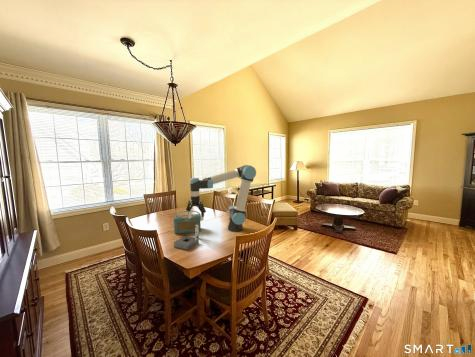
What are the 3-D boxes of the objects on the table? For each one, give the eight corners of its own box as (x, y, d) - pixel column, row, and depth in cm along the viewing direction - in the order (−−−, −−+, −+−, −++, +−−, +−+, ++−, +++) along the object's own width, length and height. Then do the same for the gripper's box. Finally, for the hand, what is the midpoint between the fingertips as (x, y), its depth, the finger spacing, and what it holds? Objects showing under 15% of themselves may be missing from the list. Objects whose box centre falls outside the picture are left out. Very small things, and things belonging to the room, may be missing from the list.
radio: (173, 234, 187) (172, 213, 184) (174, 230, 197) (173, 210, 195) (201, 231, 192) (200, 211, 189) (201, 227, 202) (200, 208, 200)
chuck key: (200, 237, 179) (200, 224, 178) (196, 239, 174) (195, 226, 172) (197, 236, 180) (197, 223, 179) (193, 239, 175) (193, 225, 174)
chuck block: (198, 243, 166) (198, 238, 166) (187, 250, 154) (187, 245, 153) (185, 240, 173) (185, 235, 172) (174, 246, 160) (173, 242, 160)
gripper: (209, 196, 171) (210, 219, 173) (187, 193, 182) (188, 216, 185) (204, 197, 164) (205, 222, 167) (181, 195, 176) (182, 218, 178)
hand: (196, 219), depth 176 cm, fingers open, 13 cm apart
